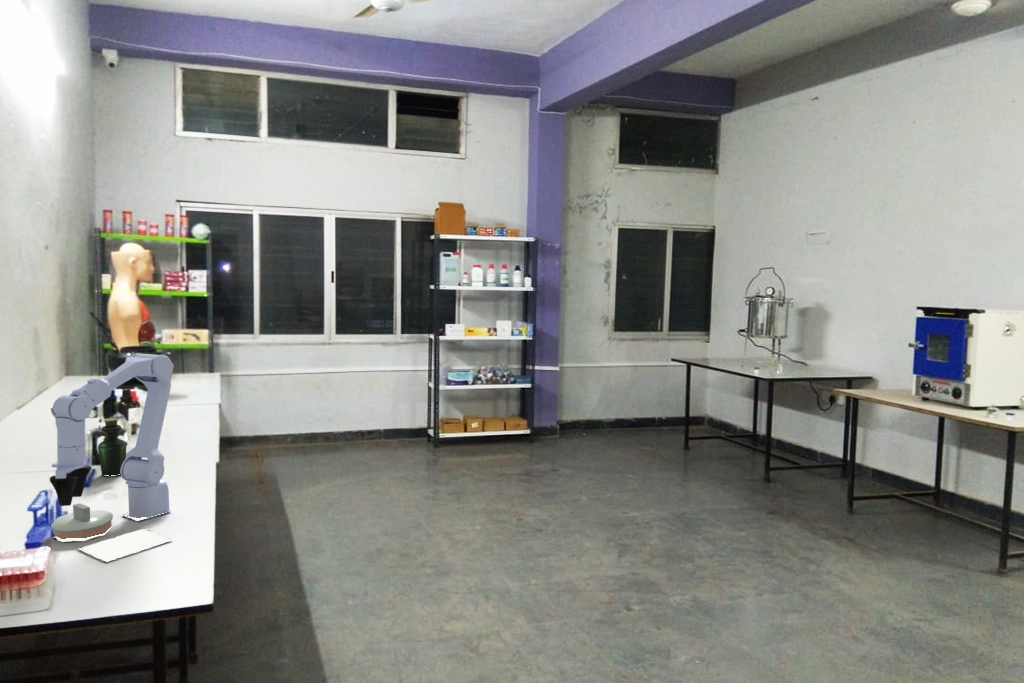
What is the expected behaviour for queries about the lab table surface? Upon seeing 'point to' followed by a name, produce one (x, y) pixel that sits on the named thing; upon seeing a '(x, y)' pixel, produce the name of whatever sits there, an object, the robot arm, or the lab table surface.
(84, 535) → the bowl
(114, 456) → the potion bottle
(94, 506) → the lab table surface
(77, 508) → the lid
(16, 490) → the lab table surface
